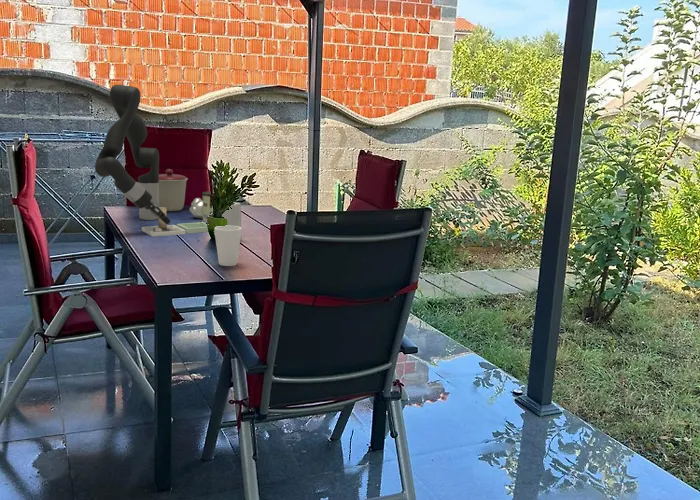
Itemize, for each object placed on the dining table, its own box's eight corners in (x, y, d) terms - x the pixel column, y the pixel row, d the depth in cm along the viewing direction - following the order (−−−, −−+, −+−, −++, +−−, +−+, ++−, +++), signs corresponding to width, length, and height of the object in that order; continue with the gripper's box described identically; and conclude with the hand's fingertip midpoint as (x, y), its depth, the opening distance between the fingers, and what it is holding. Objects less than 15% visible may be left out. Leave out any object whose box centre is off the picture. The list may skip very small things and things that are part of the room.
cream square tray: (141, 232, 280) (141, 227, 279) (173, 230, 288) (173, 224, 287) (152, 238, 269) (152, 233, 268) (185, 236, 277) (185, 230, 276)
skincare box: (242, 239, 275) (242, 202, 271) (234, 242, 268) (234, 204, 265) (224, 237, 277) (224, 201, 274) (216, 240, 271) (216, 203, 268)
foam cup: (216, 260, 238) (216, 225, 235) (242, 261, 239) (242, 225, 236) (213, 266, 229) (213, 230, 226) (240, 267, 230) (240, 230, 227)
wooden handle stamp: (153, 231, 280) (152, 207, 277) (167, 230, 283) (166, 206, 281) (158, 233, 275) (157, 209, 273) (172, 232, 278) (171, 208, 276)
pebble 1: (153, 234, 273) (153, 227, 273) (160, 233, 275) (160, 226, 274) (156, 235, 271) (155, 228, 270) (163, 234, 273) (163, 227, 272)
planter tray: (176, 230, 288) (176, 223, 287) (203, 228, 294) (202, 222, 294) (186, 235, 278) (186, 228, 277) (213, 233, 285) (213, 226, 284)
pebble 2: (169, 233, 277) (168, 226, 276) (175, 232, 279) (175, 225, 278) (171, 234, 274) (171, 227, 274) (178, 233, 276) (178, 226, 275)
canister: (160, 206, 349) (159, 166, 344) (193, 208, 346) (192, 168, 342) (145, 211, 331) (144, 169, 326) (179, 214, 329) (179, 171, 324)
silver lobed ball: (192, 216, 324) (192, 196, 321) (211, 217, 323) (211, 197, 321) (187, 219, 315) (187, 198, 313) (207, 220, 314) (207, 199, 312)
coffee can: (228, 221, 314) (228, 192, 311) (219, 225, 305) (219, 194, 302) (207, 219, 316) (207, 190, 313) (198, 223, 307) (198, 193, 303)
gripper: (149, 190, 265) (179, 218, 274) (138, 185, 276) (167, 212, 286) (136, 204, 263) (166, 231, 273) (126, 199, 274) (155, 225, 284)
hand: (167, 221), depth 279 cm, fingers closed on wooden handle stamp, 3 cm apart
